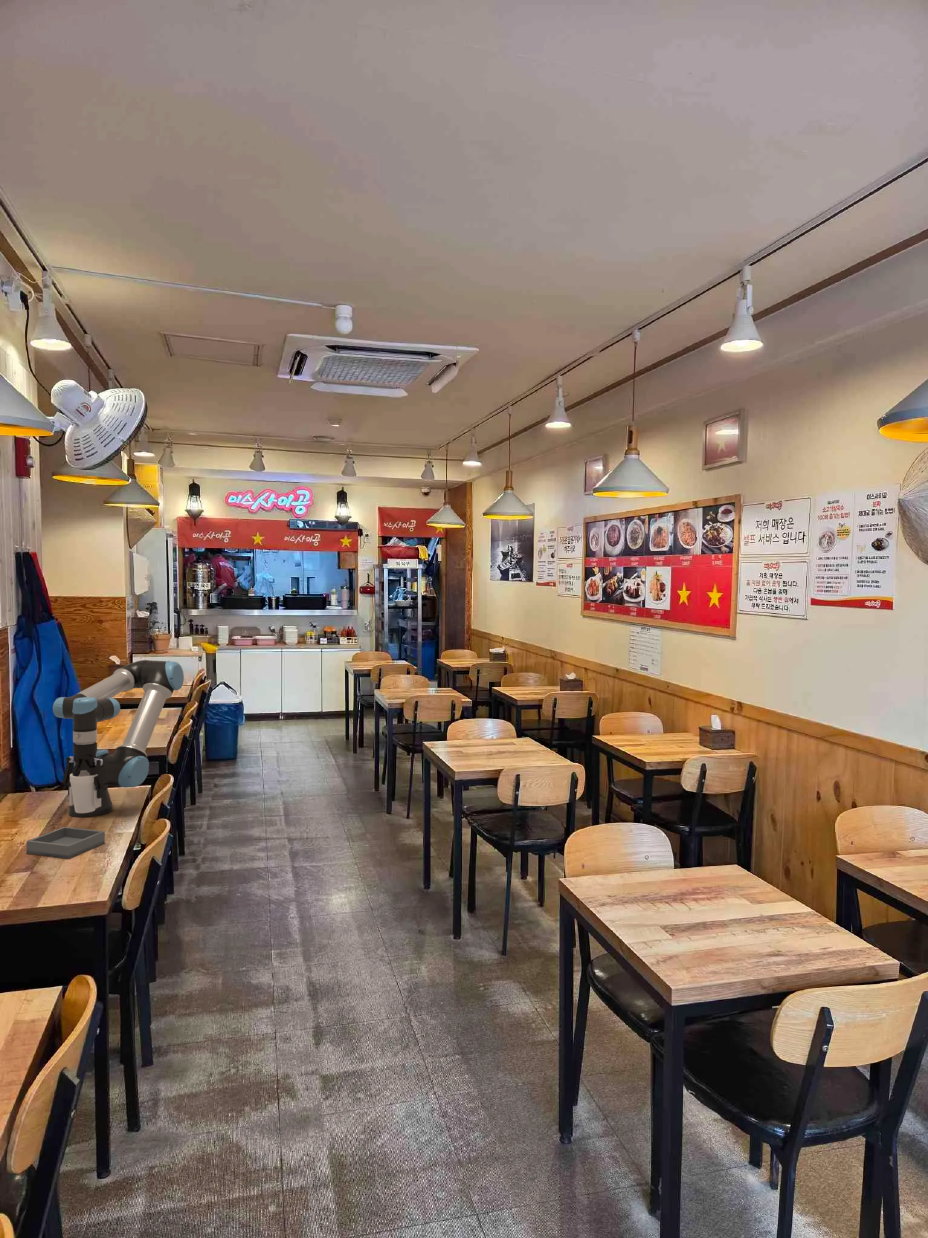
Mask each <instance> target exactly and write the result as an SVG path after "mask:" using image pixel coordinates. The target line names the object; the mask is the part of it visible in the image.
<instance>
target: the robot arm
mask: <svg viewBox="0 0 928 1238" xmlns="http://www.w3.org/2000/svg"><path fill="white" fill-rule="evenodd" d="M184 676H185V675H184V670H183V667H182V666H181V664H180V663H179V662H177V661H172V660H171V661H170V660H153V659H152V660H149V659H143V660H138V661H134V662H131V663H128V664H125V665H124V666H122V667H119V668H118V669H116V670H114V672H113V673H112V675H110V676H108V677H106V678H104V679H102V680H101V681H99V682H96V683H95V684H93V685H91V686H89V687H87V688H85V689H83V690H81V691H80V692H77V693H76V694H73V695H72V696H69V697H68V696H64V697H63V696H61V697H57V698H56V699H55V701H54V702H53V705H52V713H53V715H54V716H55V718H60V719H64V720H67V719H68V720H69V719H71V720H72V743H73V744H72V754H73V755H71V756H67V757H66V758H65V761H66V763H65V770H64V775H63V779H62V784H63V785H66V786H67V795H68V796H69V805H68V811H67V812H68V815H69V816H72V817H76V818H77V817H78V818H80V817H81V818H83V817H84V818H87V817H88V818H89V817H97V816H102V815H107V814H109V813H111V812H112V811H113V809H114V807H113V805H114V803H113V802H112V799H111V796H110V792H109V790H108V789H109V787H117V788H119V787H120V788H125V789H126V788H136V787H138V786H140V785H142V783H144V781H145V780H146V778H147V776H148V774H149V771H150V768H149V767H150V762H149V759H148V754H147V753H146V751H147V750H146V749H147V747H148V746H149V743H150V740H151V737H152V735H153V733H154V731H155V728H156V725H157V722H158V720H159V718H160V715H161V713H162V710H163V707H164V705H165V703H166V700H167V699H170V698H171V697H172V695H173V694H174V691H179V690H181V689H182V687H183V685H184V681H185V679H184V678H185V677H184ZM133 689H134V690H135V689H142V690H143V691H144V692H143V696H142V698H141V700H140V702H139V705H138V707H137V710H136V711H135V714H134V716H133V719H132V721H131V724H130V726H129V728H128V731H127V733H126V736H125V738H124V740H123V743H122V744H121V745H119V746H118V745H117V746H116V748H115V750H114V753H113V754H109V753H110V752H109V750H108V749H107V748H104V749H103V748H102V749H101V748H100V749H98V742H97V741H98V723H100V722H104V721H107V720H108V721H110V720H111V719H114V718H115V717H117V716H118V715H119V714H120V711H121V705H120V702H119V701H118V700H117V699H116V698H114V697H115V696H117V695H119V694H120V693H122V692H129V691H131V690H133ZM86 770H87V772H89V774H90V776H92V775H93V776H94V775H97V774H98V776H96V777H94V782H93V783H94V785H95V788H96V789H94V808H95V811H92V812H89V813H76V812H75V808H74V801H73V795H72V789H71V782H70V774H71V773H72V774H73V776H76V777H78V776H79V774H80V772H81V771H86Z"/></svg>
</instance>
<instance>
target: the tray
mask: <svg viewBox="0 0 928 1238" xmlns="http://www.w3.org/2000/svg"><path fill="white" fill-rule="evenodd" d="M105 834H106V831H103V830H95V829H88V828H80V827H78V828H77V827H70V826H63V827H61V828H58V829H55V830H52V831H49V832H47V833H44V834H42V835H39V836H36V837H33V838H31V839H28V840H26V845H25V846H26V852H25V853H26V854H28V855H35V856H36V855H37V856H43V857H49V858H51V857H52V858H59V859H65V860H70V859H72V858H74V857H77V856H79V855H81V854H83V853H86V852H88V851H90V850H93V849H95V848H98V847H100V846H102V845H104V844H105V842H106V841H105V839H106V838H105V837H106V835H105Z"/></svg>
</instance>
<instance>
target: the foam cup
mask: <svg viewBox="0 0 928 1238" xmlns="http://www.w3.org/2000/svg"><path fill="white" fill-rule="evenodd" d="M96 776H98V774H97V775H94V776H93V775H92V776H90V774H89V772H87V770H86V771H81V772H80V774H79V776H78V777H76V776H73V774H72V773H71V774H70V782H71V789H72V795H73V801H74V808H75V812H76V813H89V812H92V811H95V808H94V789H96V788H95V785H94V783H93V782H94V777H96Z"/></svg>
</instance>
